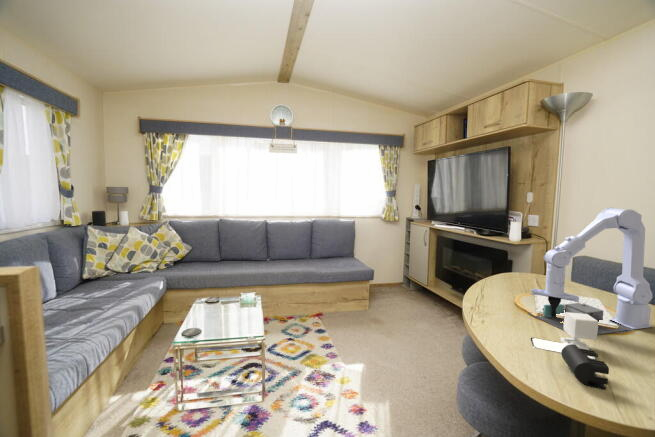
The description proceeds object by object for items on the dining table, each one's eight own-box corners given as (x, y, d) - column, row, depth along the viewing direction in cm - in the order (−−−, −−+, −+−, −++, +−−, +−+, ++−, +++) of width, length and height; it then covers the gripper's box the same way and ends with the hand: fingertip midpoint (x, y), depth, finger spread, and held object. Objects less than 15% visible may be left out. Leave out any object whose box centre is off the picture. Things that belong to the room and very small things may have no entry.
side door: (564, 316, 120) (565, 304, 119) (544, 317, 119) (545, 305, 118) (560, 314, 122) (561, 303, 121) (540, 315, 121) (541, 303, 120)
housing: (580, 314, 122) (581, 301, 121) (605, 325, 113) (607, 310, 112) (563, 316, 120) (565, 302, 119) (588, 327, 111) (590, 312, 111)
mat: (574, 308, 129) (574, 307, 129) (631, 330, 110) (631, 329, 109) (527, 313, 123) (527, 312, 123) (578, 337, 104) (578, 336, 104)
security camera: (595, 352, 95) (598, 321, 94) (569, 349, 96) (572, 319, 95) (583, 342, 101) (586, 313, 100) (559, 339, 103) (561, 311, 101)
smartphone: (533, 349, 98) (598, 362, 90) (533, 347, 97) (598, 360, 90) (530, 338, 104) (589, 349, 97) (530, 336, 104) (590, 347, 97)
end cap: (559, 364, 89) (562, 342, 88) (590, 369, 86) (592, 346, 85) (573, 385, 79) (575, 360, 79) (607, 391, 77) (610, 366, 76)
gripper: (579, 282, 115) (577, 317, 116) (533, 275, 124) (531, 308, 125) (579, 287, 110) (577, 323, 111) (531, 280, 119) (529, 313, 120)
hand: (553, 315), depth 118 cm, fingers closed, pressing on side door
